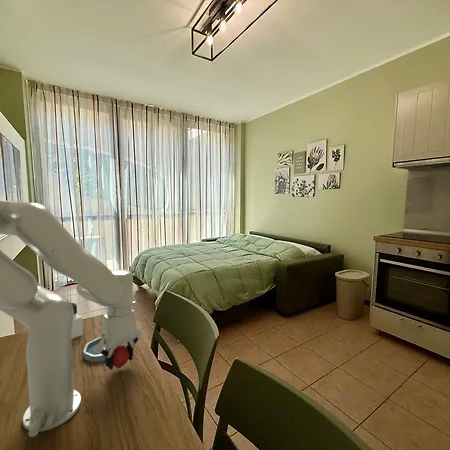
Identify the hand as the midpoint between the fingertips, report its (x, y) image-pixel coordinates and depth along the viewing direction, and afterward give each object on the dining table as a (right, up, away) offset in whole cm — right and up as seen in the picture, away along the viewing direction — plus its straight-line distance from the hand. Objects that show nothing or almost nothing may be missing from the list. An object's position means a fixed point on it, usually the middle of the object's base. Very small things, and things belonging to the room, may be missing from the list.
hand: (119, 362), depth 83 cm
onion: (0, -2, 0) cm, 2 cm away
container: (-29, 0, +20) cm, 35 cm away
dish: (-10, -1, +10) cm, 14 cm away
